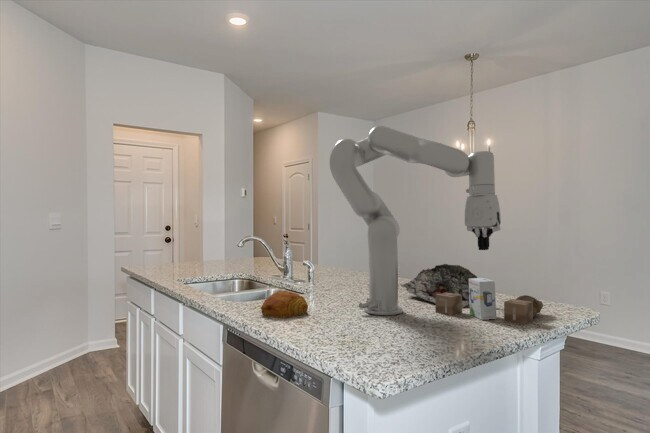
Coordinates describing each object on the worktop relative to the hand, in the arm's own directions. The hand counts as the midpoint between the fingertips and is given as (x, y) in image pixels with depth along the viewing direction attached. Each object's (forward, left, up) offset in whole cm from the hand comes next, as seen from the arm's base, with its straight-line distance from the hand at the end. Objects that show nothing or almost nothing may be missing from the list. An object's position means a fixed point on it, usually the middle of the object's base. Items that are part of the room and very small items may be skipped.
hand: (483, 249), depth 130 cm
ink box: (0, 0, -21) cm, 21 cm away
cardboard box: (-3, +10, -21) cm, 24 cm away
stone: (+12, -7, -21) cm, 25 cm away
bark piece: (+10, +25, -21) cm, 35 cm away
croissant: (-45, +45, -22) cm, 68 cm away
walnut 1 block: (+3, -10, -21) cm, 23 cm away
